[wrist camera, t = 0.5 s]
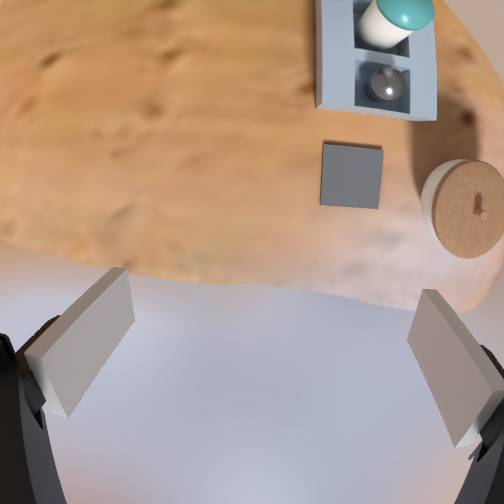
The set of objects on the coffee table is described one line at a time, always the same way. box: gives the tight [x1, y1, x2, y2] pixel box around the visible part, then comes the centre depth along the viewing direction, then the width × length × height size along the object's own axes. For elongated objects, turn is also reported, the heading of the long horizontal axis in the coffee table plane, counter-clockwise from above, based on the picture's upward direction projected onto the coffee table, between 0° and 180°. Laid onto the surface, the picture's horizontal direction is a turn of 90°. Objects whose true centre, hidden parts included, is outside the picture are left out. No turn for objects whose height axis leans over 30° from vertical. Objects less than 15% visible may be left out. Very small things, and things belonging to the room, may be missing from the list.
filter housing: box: [315, 0, 437, 121], centre depth 26 cm, size 12×18×6 cm, turn 179°
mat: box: [320, 144, 383, 209], centre depth 35 cm, size 7×7×1 cm
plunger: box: [364, 67, 407, 103], centre depth 25 cm, size 3×3×4 cm
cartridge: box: [354, 0, 434, 53], centre depth 21 cm, size 5×5×11 cm
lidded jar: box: [421, 159, 504, 259], centre depth 30 cm, size 11×11×9 cm
